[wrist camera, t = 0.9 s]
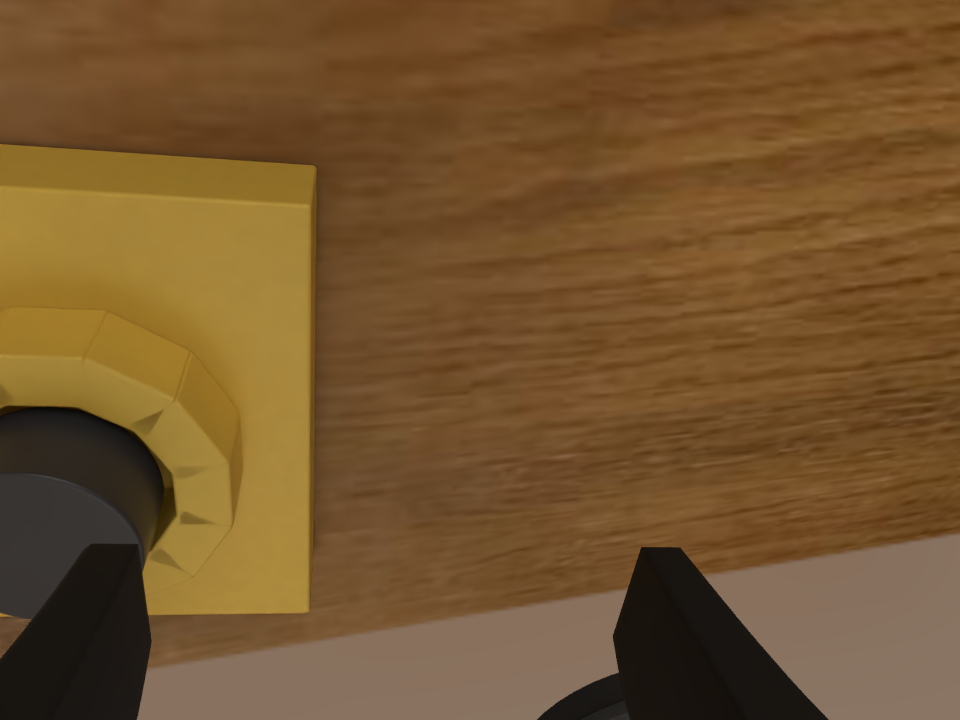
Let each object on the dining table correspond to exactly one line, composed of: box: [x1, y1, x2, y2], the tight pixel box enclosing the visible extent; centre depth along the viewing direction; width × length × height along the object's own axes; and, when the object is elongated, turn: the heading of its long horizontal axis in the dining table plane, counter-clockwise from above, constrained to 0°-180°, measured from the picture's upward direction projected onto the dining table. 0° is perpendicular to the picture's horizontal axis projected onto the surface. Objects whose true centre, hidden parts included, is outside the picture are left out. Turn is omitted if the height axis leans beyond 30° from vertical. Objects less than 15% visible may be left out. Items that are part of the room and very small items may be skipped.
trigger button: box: [0, 407, 164, 619], centre depth 17 cm, size 4×4×2 cm
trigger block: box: [0, 144, 317, 617], centre depth 19 cm, size 12×10×4 cm
